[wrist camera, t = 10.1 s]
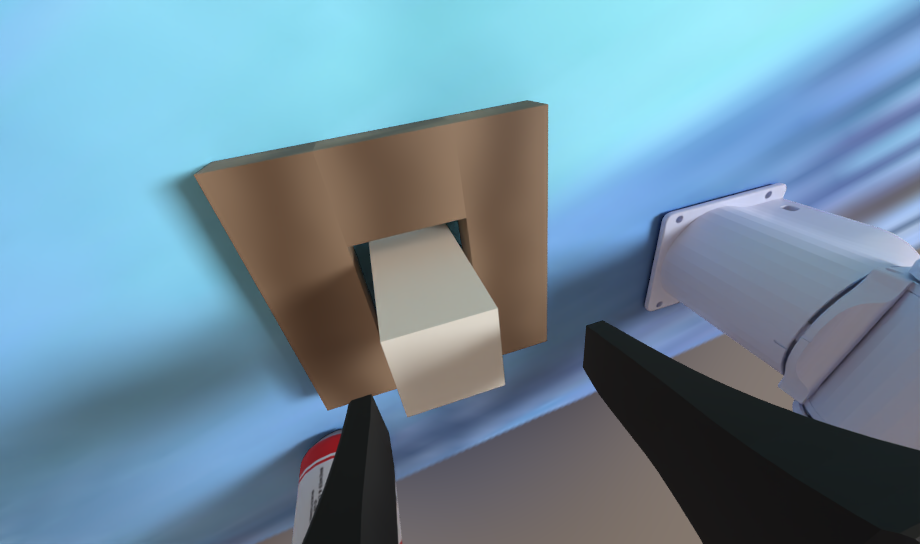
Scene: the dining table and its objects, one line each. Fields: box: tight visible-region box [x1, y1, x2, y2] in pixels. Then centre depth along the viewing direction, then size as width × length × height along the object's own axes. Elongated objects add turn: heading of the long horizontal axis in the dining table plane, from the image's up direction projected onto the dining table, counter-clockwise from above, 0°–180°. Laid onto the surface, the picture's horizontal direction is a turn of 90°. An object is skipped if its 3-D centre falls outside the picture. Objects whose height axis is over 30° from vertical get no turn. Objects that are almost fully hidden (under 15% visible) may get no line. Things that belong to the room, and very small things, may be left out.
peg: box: [369, 223, 505, 417], centre depth 16 cm, size 4×4×8 cm
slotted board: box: [194, 100, 548, 410], centre depth 18 cm, size 14×14×2 cm
